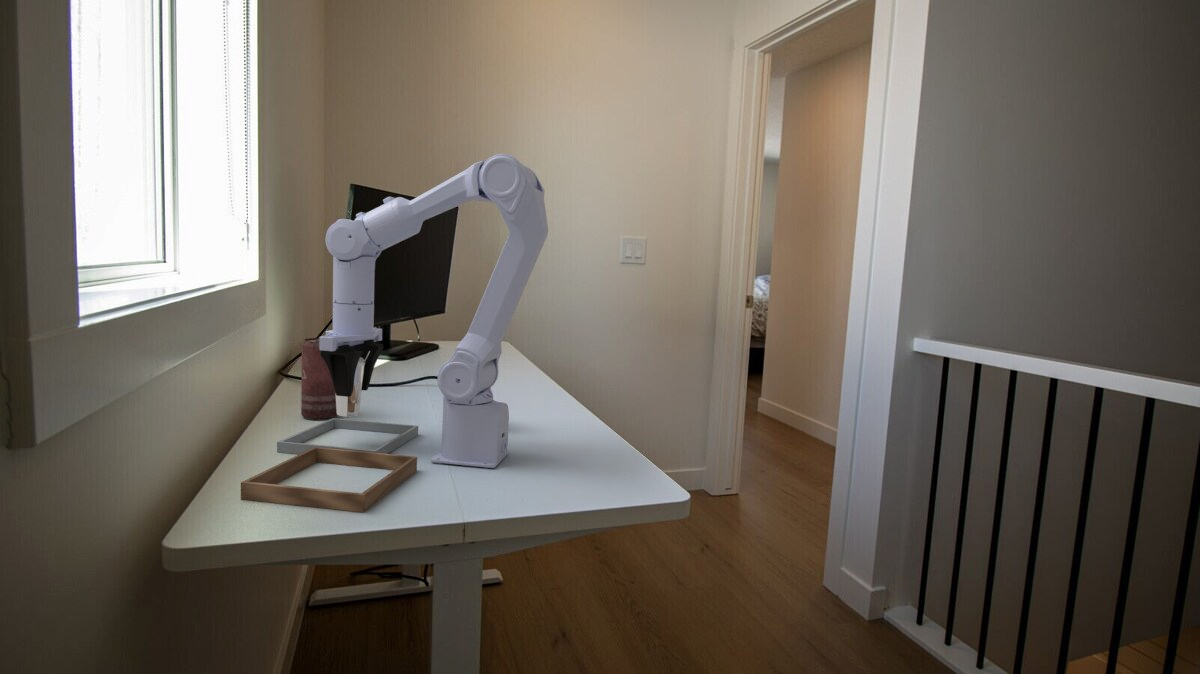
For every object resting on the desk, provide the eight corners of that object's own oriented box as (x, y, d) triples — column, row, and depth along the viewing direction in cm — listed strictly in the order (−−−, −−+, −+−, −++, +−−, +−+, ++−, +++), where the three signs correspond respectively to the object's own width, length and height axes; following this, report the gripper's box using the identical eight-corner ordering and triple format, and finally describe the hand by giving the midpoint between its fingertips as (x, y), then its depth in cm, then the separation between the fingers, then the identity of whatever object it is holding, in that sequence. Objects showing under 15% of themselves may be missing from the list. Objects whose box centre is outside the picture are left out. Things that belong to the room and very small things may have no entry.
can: (313, 422, 106) (314, 342, 104) (294, 415, 109) (295, 338, 108) (346, 417, 110) (347, 340, 109) (327, 410, 114) (328, 336, 113)
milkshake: (362, 419, 91) (363, 353, 90) (326, 416, 91) (327, 350, 90) (374, 411, 96) (375, 348, 95) (339, 408, 96) (340, 345, 95)
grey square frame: (418, 434, 102) (418, 425, 102) (375, 461, 88) (375, 451, 87) (332, 426, 104) (333, 418, 104) (276, 452, 89) (276, 442, 89)
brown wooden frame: (416, 470, 85) (417, 456, 85) (363, 512, 70) (363, 495, 70) (314, 460, 86) (314, 446, 86) (240, 499, 72) (240, 482, 71)
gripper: (353, 299, 99) (352, 382, 101) (299, 303, 85) (298, 400, 86) (395, 302, 98) (393, 385, 100) (347, 306, 84) (346, 404, 86)
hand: (352, 392), depth 93 cm, fingers closed on milkshake, 4 cm apart
